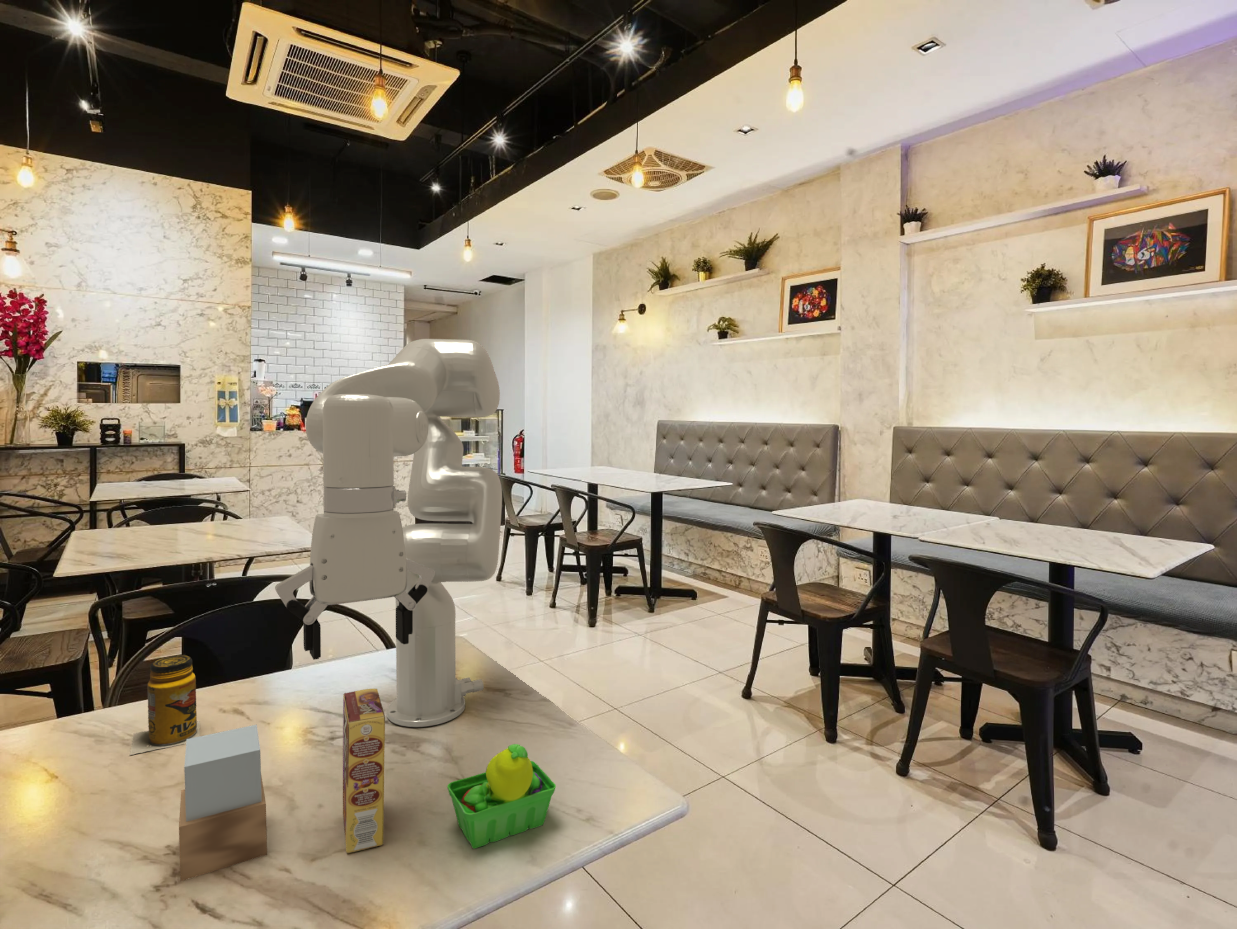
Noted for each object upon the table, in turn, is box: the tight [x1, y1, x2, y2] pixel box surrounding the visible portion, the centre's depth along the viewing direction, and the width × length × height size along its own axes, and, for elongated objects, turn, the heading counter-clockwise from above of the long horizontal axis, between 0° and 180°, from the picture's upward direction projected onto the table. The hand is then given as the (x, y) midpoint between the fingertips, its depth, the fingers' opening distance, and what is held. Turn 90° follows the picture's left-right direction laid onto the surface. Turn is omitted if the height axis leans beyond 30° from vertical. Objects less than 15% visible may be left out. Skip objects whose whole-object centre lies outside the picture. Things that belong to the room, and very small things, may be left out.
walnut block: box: [178, 775, 268, 882], centre depth 73 cm, size 8×8×6 cm
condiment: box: [129, 654, 201, 756], centre depth 97 cm, size 7×8×12 cm
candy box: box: [342, 688, 386, 854], centre depth 76 cm, size 9×4×15 cm, turn 26°
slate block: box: [183, 724, 262, 822], centre depth 72 cm, size 7×7×6 cm
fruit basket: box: [446, 743, 557, 849], centre depth 76 cm, size 11×9×11 cm
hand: (360, 648), depth 75 cm, fingers open, 9 cm apart
